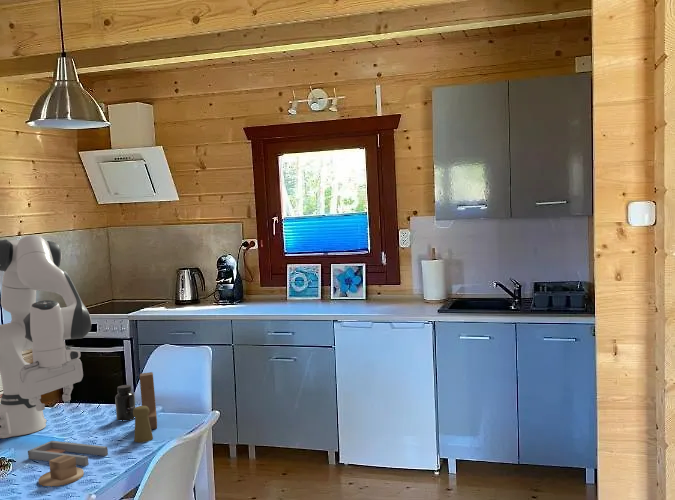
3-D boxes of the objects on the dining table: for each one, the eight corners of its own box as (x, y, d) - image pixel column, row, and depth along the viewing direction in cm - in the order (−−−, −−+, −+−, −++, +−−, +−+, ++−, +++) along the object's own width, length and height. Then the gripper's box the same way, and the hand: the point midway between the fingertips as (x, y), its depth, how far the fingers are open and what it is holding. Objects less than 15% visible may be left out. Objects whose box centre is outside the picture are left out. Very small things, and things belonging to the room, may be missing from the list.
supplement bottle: (133, 421, 245) (130, 388, 244) (114, 422, 245) (111, 389, 244) (138, 415, 252) (135, 383, 251) (120, 416, 252) (117, 384, 251)
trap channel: (28, 458, 213) (27, 450, 213) (52, 448, 222) (51, 440, 221) (85, 465, 203) (84, 457, 203) (108, 454, 212) (107, 446, 212)
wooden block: (157, 428, 234) (152, 377, 233) (143, 430, 233) (139, 379, 232) (157, 421, 243) (152, 371, 242) (144, 423, 242) (139, 373, 240)
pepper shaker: (142, 443, 220) (139, 410, 219) (130, 441, 223) (127, 408, 222) (157, 437, 225) (154, 404, 224) (144, 435, 228) (141, 403, 228)
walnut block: (50, 477, 194) (49, 460, 193) (66, 471, 198) (64, 454, 197) (61, 480, 191) (59, 463, 190) (76, 474, 195) (75, 457, 195)
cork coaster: (29, 484, 192) (28, 481, 192) (62, 468, 203) (61, 465, 203) (60, 488, 187) (60, 486, 187) (92, 472, 198) (92, 469, 198)
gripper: (27, 367, 183) (32, 417, 184) (84, 350, 202) (88, 396, 203) (11, 366, 186) (15, 415, 187) (68, 349, 205) (72, 394, 206)
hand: (54, 405), depth 195 cm, fingers open, 8 cm apart
